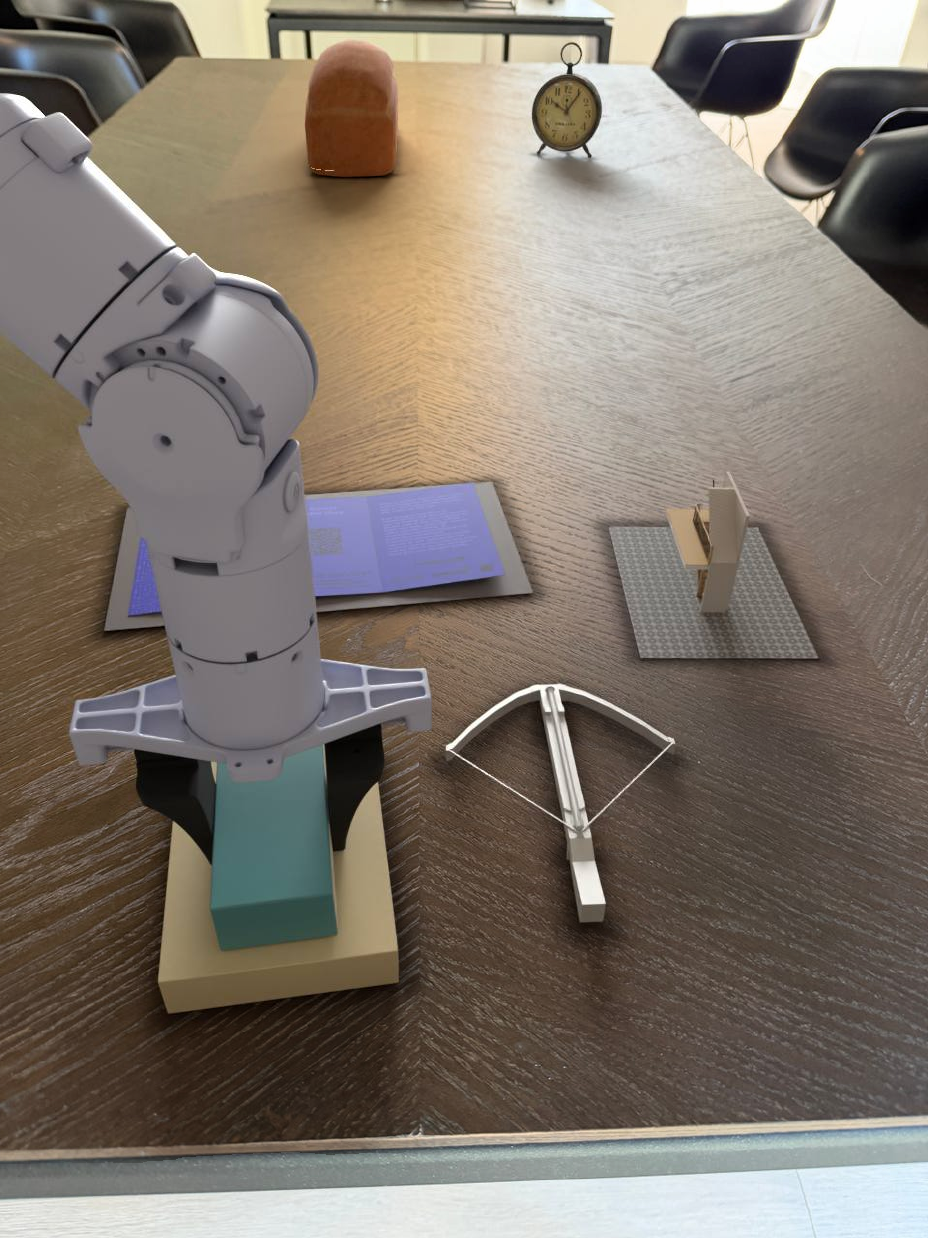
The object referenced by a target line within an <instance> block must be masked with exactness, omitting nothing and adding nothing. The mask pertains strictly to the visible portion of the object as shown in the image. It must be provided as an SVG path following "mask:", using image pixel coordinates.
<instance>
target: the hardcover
mask: <svg viewBox="0 0 928 1238" xmlns="http://www.w3.org/2000/svg"><path fill="white" fill-rule="evenodd" d="M211 765H212V771H213V776H214V780H215V783H216V770H217V762H211ZM381 803H382V802H381V795H380V788H379V781H378V782H377V783H376V784H375V785H374V786H373V787H372V788H371V789H370V790H369V792H368V793H367V794H366V795H365V797H364V798H363V800H362V801H361V803H360V805H359V806H358V808H357V810H356V812H355V815H354V817H353V819H352V822H351V825H350V828H349V831H348V834H347V839H346V848H345V849H344V850H343V851H334V852H333V860H334V874H335V888H336V902H337V916H338V926H337V929H338V933H337V935H335V936H327V937H320V938H312V939H305V940H298V941H290V942H283V943H275V944H268V945H261V946H253V947H246V948H238V949H231V950H224V951H222V950H220V947H219V943H218V939H217V935H216V931H215V927H214V923H213V920H212V916H211V912H210V898H211V876H212V865H210V863H209V862H208V860H207V858H206V857H205V855H204V854H203V852H202V851H201V849H200V848H199V847H198V845H197V844H196V843H195V842H194V841H193V839H192V838H191V837H190V836H189V835H188V834H187V833H186V832H185V831H184V830H183V829H182V828H181V827H180V826H179V825H178V824H176V823H175V822H174V821H173V820H172V827H171V836H170V846H169V847H170V848H169V859H168V861H169V862H168V870H167V879H166V890H165V899H164V901H165V902H164V910H163V911H164V914H163V923H162V934H161V945H160V954H159V965H158V977H157V984H158V987H159V990H160V993H161V996H162V999H163V1003H164V1005H165V1009H166V1012H167V1014H169V1015H170V1014H176V1013H177V1014H178V1013H183V1012H191V1011H200V1010H206V1009H213V1008H220V1007H221V1008H222V1007H229V1006H234V1005H235V1006H236V1005H244V1004H250V1003H251V1004H252V1003H257V1002H264V1001H273V1000H280V999H289V998H295V997H303V996H308V995H317V994H324V993H332V992H339V991H346V990H353V989H354V990H355V989H363V988H368V987H375V986H383V985H391V984H398V983H399V982H400V979H399V977H400V976H399V971H400V965H399V964H400V963H399V961H400V960H399V945H398V938H397V937H398V936H397V928H396V919H395V910H394V902H393V895H392V887H391V879H390V870H389V862H388V854H387V845H386V837H385V829H384V821H383V812H382V811H383V810H382V804H381Z"/></svg>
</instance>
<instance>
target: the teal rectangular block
mask: <svg viewBox="0 0 928 1238" xmlns="http://www.w3.org/2000/svg"><path fill="white" fill-rule="evenodd" d="M210 912H211V916H212V920H213V923H214V927H215V931H216V935H217V939H218V943H219V947H220V950H222V951H224V950H231V949H238V948H246V947H253V946H261V945H268V944H275V943H283V942H290V941H298V940H305V939H312V938H320V937H327V936H335V935H337V933H338V929H337V926H338V916H337V902H336V888H335V874H334V860H333V848H332V840H331V832H330V819H329V804H328V790H327V776H326V761H325V746H324V744H323V745H320V746H317V747H314V748H312V749H309V750H306V751H304V752H301V753H298V754H295V755H293V756H290V757H287V758H285V759H284V761H283V771H282V774H281V775H280V776H278V777H277V778H275V779H271V780H264V781H255V782H245V783H237V782H234V781H232V780H230V778H229V775H228V770H227V765H226V764H223V763H217V770H216V792H215V813H214V834H213V855H212V876H211V898H210Z"/></svg>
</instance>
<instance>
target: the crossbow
mask: <svg viewBox="0 0 928 1238" xmlns="http://www.w3.org/2000/svg"><path fill="white" fill-rule="evenodd" d="M538 701H539V705H540V710H541V716H542V720H543V725H544V732H545V735H546V741H547V746H548V752H549V757H550V761H551V767H552V773H553V776H554V782H555V787H556V792H557V793H556V794H557V798H558V803H559V808H560V813H561V818H562V819H560V818H559V817H558V816H556V815H554V814H553V813H551V812H549V811H548V810H546V809H545V808H543V807H542V806H540V805H538V804H537V803H535V802H534V801H532V800H531V799H529V798H527V797H526V796H524V795H522V794H520V793H519V792H518V791H516V790H515V789H513V788H512V787H510V786H509V785H507V784H505V783H504V782H502V781H500V780H499V779H497V778H496V777H494V776H493V775H491V774H489V773H488V772H486V771H485V770H483V769H481V768H480V767H478V766H477V765H476V764H474V763H472V762H471V761H469V760H467V759H466V758H464V757H463V756H461V755H460V754H459V753H460V751H462V749H463V748H465V747H466V746H467V744H468V743H469V742H471V740H473V739H474V738H475V737H477V736H478V735H479V734H480V733H481V732H483V731H484V730H485V729H486V728H488V727H489V726H491V724H493V723H494V722H495V721H497V720H499V719H500V718H501V717H503V716H505V715H507V714H508V713H509V712H511V711H513V710H515V709H516V708H517V707H521V706H522V705H523V706H524V705H525V704H528V703H534V702H538ZM563 702H570V703H574V704H578V705H581V706H584V707H586V708H588V709H590V710H593V711H595V712H597V713H599V714H602V715H603V716H606V717H608V718H610V719H612V720H613V721H615V722H617V723H618V724H621V725H623V726H624V727H626V728H628V729H629V730H632V731H633V732H635V733H637V734H639V735H641V736H642V737H644V739H647V740H648V741H649V742H651V743H652V744H654V745H655V746H657V747H659V748H660V749H662V751H661V752H660V753H659V754H658V755H657V756H656V757H655V758H654V759H653V760H652V761H651V762H650V763H648V765H646V766H645V768H644V769H642V770H641V771H640V772H639V774H637V775H636V776H635V777H634V778H633V780H631V781H630V782H629V783H628V784H627V785H626V786H625V787H624V788H622V790H621V791H620V792H619V793H618V794H617V795H615V796H614V798H613V799H612V800H611V801H610V802H609V803H608V804H606V805H605V806H604V807H603V808H602V809H601V810H600V811H599V812H598V813H597V814H596V815H595V816H594V817H593V818H592V819H591V820H590V821H589V820H588V815H587V811H586V804H585V800H584V796H583V793H582V789H581V788H582V787H581V784H580V779H579V775H578V770H577V766H576V761H575V756H574V752H573V748H572V743H571V739H570V734H569V729H568V725H567V721H566V717H565V712H566V711H565V707H564V705H563V704H562V703H563ZM675 750H676V741H675V739H674V738H673V737H671V736H668V735H667V736H666V735H665V734H663V733H662V732H660V731H659V730H657V729H656V728H654V727H653V726H651V725H650V724H648V723H646V722H645V721H643V720H642V719H641V718H638V717H637V716H635V715H634V714H631V713H629V712H627V711H625V710H624V709H622V708H621V707H618V706H616V705H615V704H613V703H611V702H609V701H607V700H605V699H602V698H600V697H599V696H595V694H594V695H593V694H591V693H589V692H587V691H585V690H582V689H579V688H578V689H577V688H575V687H572V686H571V687H570V686H567V685H566V684H562V683H557V684H556V683H555V684H539V683H538V684H533V685H530V687H527V688H524V689H521V690H519V691H516V692H514V693H512V694H511V695H510V696H508V697H507V698H505V699H503V700H502V701H500V702H498V703H497V704H495V705H494V706H493V707H491V708H490V709H488V710H487V711H486V712H485V713H484V714H482V715H481V716H480V717H478V718H477V719H475V721H473V722H472V723H470V725H469V726H468V727H466V728H465V729H464V730H463V732H462V733H460V735H458V736H457V737H456V738H455V739H454V740H453V742H450V743H448V744H446V745H445V762H446V763H447V762H449V761H451V760H452V759H453V758H455V757H457V758H459V759H460V760H462V761H464V762H465V763H466V764H468V765H469V766H471V767H473V768H474V769H476V770H477V771H479V772H481V774H484V775H485V776H487V777H488V778H490V779H492V780H493V781H495V782H496V783H498V784H500V785H501V786H503V787H504V788H506V789H508V790H509V791H511V792H512V793H514V794H515V795H516V796H518V797H520V798H522V799H523V800H524V801H527V803H529V804H531V805H533V806H534V807H536V808H537V809H539V810H541V812H544V813H545V814H547V815H548V816H550V817H551V818H553V819H555V820H557V821H558V822H560V823H561V824H563V829H564V833H565V838H566V843H567V844H566V860H567V861H569V865H570V873H571V879H572V885H573V890H574V896H575V903H576V907H577V915H578V920H579V923H598V922H599V923H600V922H601V923H602V922H604V919H605V918H604V917H605V911H606V905H607V903H606V899H605V895H604V890H603V887H602V884H601V883H602V882H601V879H600V876H599V871H598V867H597V864H596V859H595V852H594V845H593V838H592V833H591V828H590V825H591V824H592V823H594V822H595V820H597V818H599V817H600V816H601V815H602V814H603V813H604V812H605V811H606V810H607V809H608V808H609V807H610V806H611V805H612V804H613V803H614V802H615V801H616V800H618V798H619V797H620V796H622V794H624V792H625V791H626V790H628V788H630V786H632V785H633V784H634V783H635V782H636V781H637V780H638V779H639V778H640V777H641V776H642V775H643V774H644V773H645V772H646V771H647V770H648V769H649V768H650V767H651V766H653V764H654V763H655V762H656V761H658V759H659V758H660V757H661V756H663V754H665V753H668V754H671V755H673V756H674V755H675Z"/></svg>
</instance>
